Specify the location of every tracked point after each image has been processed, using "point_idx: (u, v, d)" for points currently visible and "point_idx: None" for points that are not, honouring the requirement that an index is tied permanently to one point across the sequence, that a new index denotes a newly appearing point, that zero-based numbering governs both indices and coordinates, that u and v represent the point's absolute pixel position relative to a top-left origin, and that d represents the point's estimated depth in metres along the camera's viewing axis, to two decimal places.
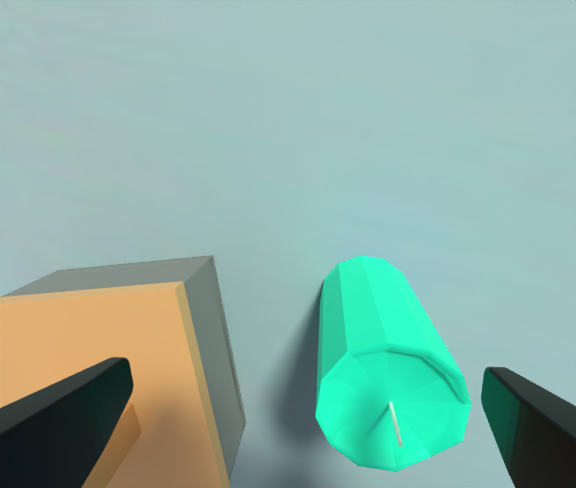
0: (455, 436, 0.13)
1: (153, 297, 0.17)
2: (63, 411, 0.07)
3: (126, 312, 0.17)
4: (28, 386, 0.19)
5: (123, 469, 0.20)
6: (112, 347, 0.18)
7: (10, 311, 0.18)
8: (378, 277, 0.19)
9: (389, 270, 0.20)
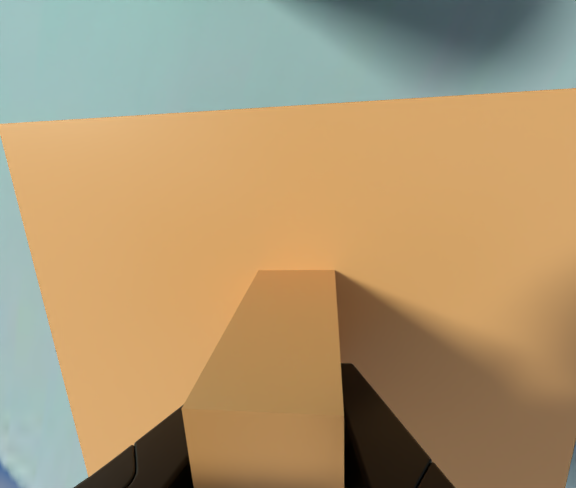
0: None
1: (22, 171, 0.09)
2: None
3: (60, 232, 0.09)
4: None
5: (439, 336, 0.09)
6: (134, 278, 0.10)
7: (89, 426, 0.11)
8: None
9: None
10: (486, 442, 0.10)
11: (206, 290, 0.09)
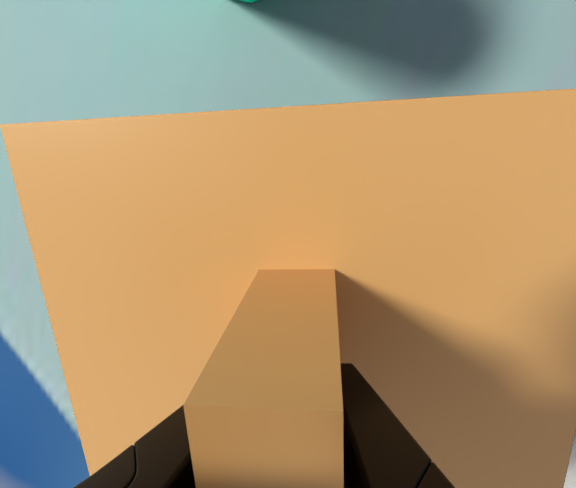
0: None
1: (24, 172, 0.09)
2: None
3: (61, 231, 0.09)
4: None
5: (438, 335, 0.09)
6: (135, 277, 0.10)
7: (90, 425, 0.11)
8: None
9: None
10: (485, 440, 0.10)
11: (207, 289, 0.09)
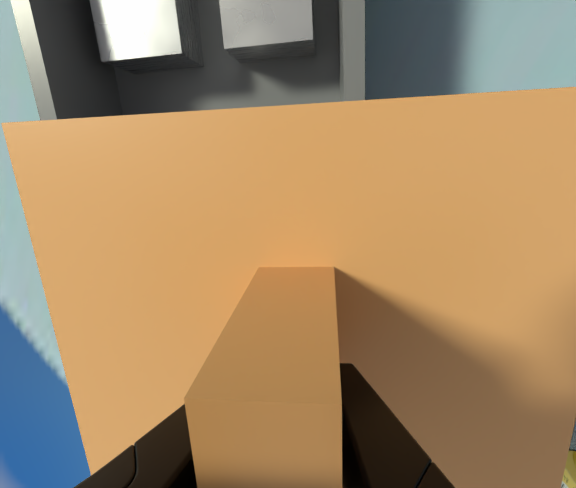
0: None
1: (25, 170, 0.09)
2: None
3: (63, 229, 0.10)
4: None
5: (437, 332, 0.09)
6: (136, 275, 0.10)
7: (91, 422, 0.11)
8: None
9: None
10: (484, 437, 0.10)
11: (207, 287, 0.09)
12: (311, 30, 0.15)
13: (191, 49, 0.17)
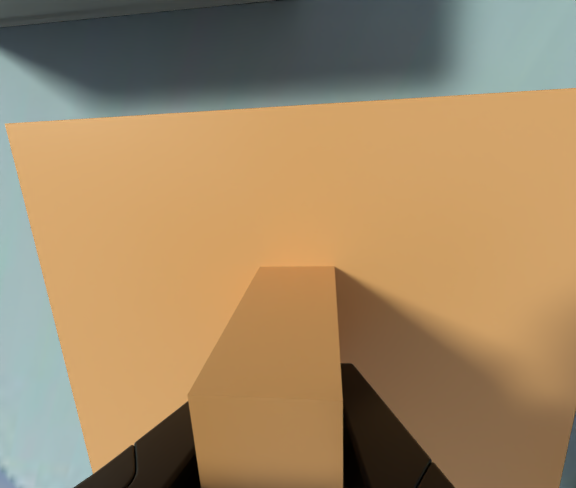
0: None
1: (28, 170, 0.09)
2: None
3: (65, 229, 0.10)
4: None
5: (436, 331, 0.09)
6: (138, 275, 0.10)
7: (93, 421, 0.11)
8: None
9: None
10: (483, 435, 0.10)
11: (208, 286, 0.10)
12: None
13: None
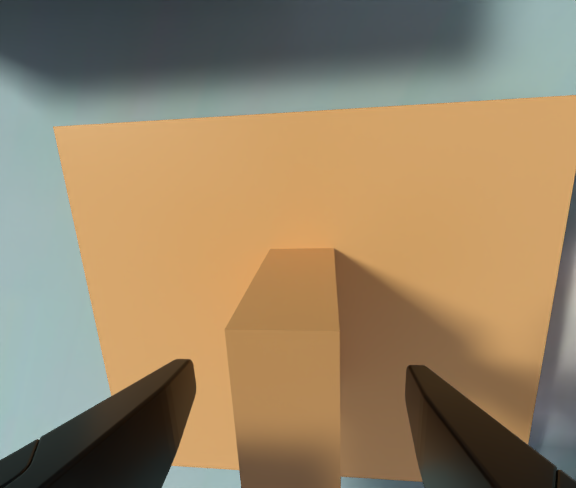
0: None
1: (72, 166, 0.11)
2: (146, 415, 0.07)
3: (102, 217, 0.11)
4: None
5: (421, 304, 0.11)
6: (165, 256, 0.11)
7: (121, 388, 0.13)
8: None
9: None
10: None
11: (225, 266, 0.11)
12: None
13: None
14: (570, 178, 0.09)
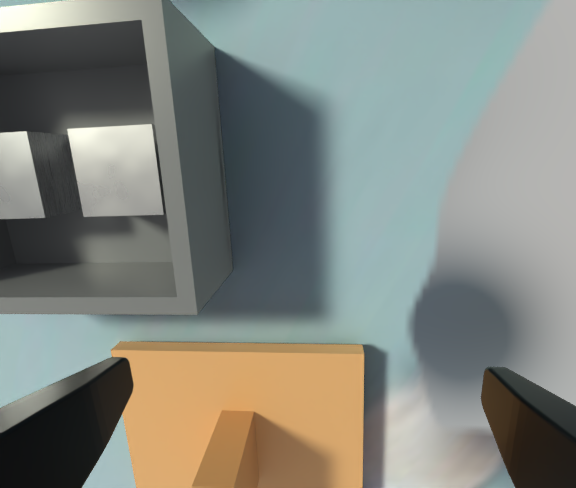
0: None
1: None
2: (64, 411, 0.07)
3: (134, 391, 0.21)
4: None
5: (299, 439, 0.21)
6: (166, 411, 0.21)
7: (141, 476, 0.23)
8: None
9: None
10: (325, 484, 0.21)
11: (199, 417, 0.21)
12: (161, 207, 0.16)
13: (63, 204, 0.18)
14: (363, 386, 0.20)
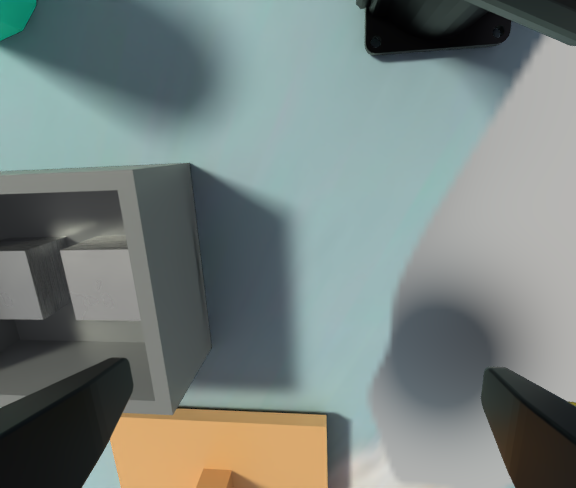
0: None
1: None
2: (63, 411, 0.07)
3: (126, 450, 0.24)
4: None
5: None
6: (155, 467, 0.24)
7: None
8: None
9: None
10: None
11: (183, 473, 0.24)
12: None
13: (59, 301, 0.20)
14: (326, 452, 0.22)
